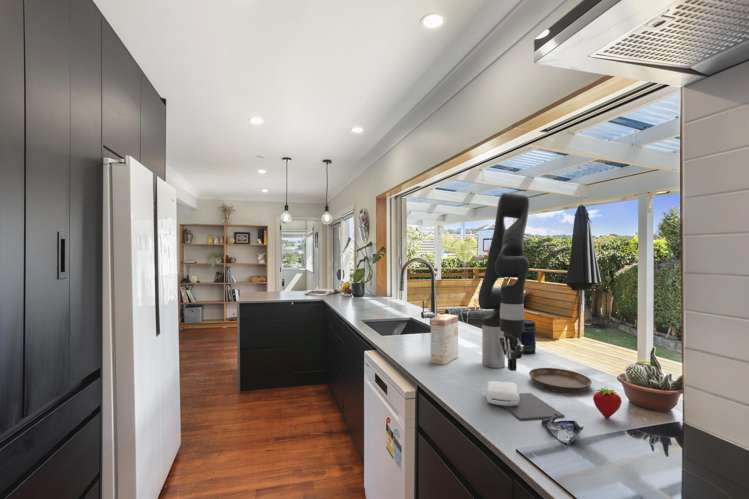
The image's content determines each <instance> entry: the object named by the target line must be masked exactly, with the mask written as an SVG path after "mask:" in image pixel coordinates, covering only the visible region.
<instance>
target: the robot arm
mask: <svg viewBox="0 0 749 499" xmlns="http://www.w3.org/2000/svg"><path fill="white" fill-rule="evenodd" d="M496 208H497V209H496V215H495V223H494V230H493V234H492V237H491V238H492V239H491V241H490V246H489V250H488V256H487V261H486V267H485V271H484V275H483V279H482V282H481V284H480V288H479V292H478V300H477V301H478V306H479V308H480V309H483V310H493V311H492V313H490V314H489V315H488V314H487V315H486V316H484V317H483V318H482V321H481V322H482V323H481V324H482V326H481V328H482V330H481V332H482V333H481V334H482V338H481V340H482V343H481V344H482V346H481V348H482V350H481V354H482V355H481V358H482V359H481V361H482V365H483V366H484V367H486V368H493V369H501V368H504V367H505V366H506V363H505V362H506V358H507V369H508V371H511V372H514V371H515V372H516V371H517V360H519V359H522V356H523V355H524V354H523V353H524V351H525V349H526V346H525V345H522V344H521V335H520V334H521V333H523V332H524V320H525V307H524V306H525V305H524V290H525V283H526V279H527V276H528V273H529V271H530V270H529V269H530V262H529V260H528V258H527V257H526V256H524V255H523V254H524V250H525V248H524V247H525V245H524V244H525V233H526V232H525V231H526V226H527V223H528V217H529V211H530V198H529V196H528V195H525V194H522V193H521V194H520V193H513V192H502V193H501V194H500V196H499V198H498V203H497V207H496ZM505 218H511V219H517V220H516V221H515V222H513V223H512V224H511V225H510V226H509V227H506V223H505ZM500 278H517V280H516V281H515V282H513V283H509V284H504V285H502V286H501V287H494V286H495V284H496V282H497V280H498V279H500Z"/></svg>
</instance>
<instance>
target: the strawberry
mask: <svg viewBox="0 0 749 499" xmlns="http://www.w3.org/2000/svg"><path fill="white" fill-rule="evenodd" d="M615 391H616V390H615V389H609V388H605V387H604V388H603V387H600V389H596V392H595V393H594V394H593V397H592V400H593V403H594V406H595V407H596V408H597V409H598V412H600V414H601V415H602V416H603V417H604V418H605V419H609V418H611V417H612V416H613V415H614V414H615V413H616V412H617V411H619V409H620V408H621V405H622V398H621V397H620V395H619V394H618V393H617V392H615Z"/></svg>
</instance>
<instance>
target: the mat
mask: <svg viewBox="0 0 749 499" xmlns="http://www.w3.org/2000/svg"><path fill="white" fill-rule="evenodd" d="M519 397H520V401H519V403H518V406H502V407H504V409H506V410H507V411H508V412H509V413H511V415H513V416H514V417H516V419H518V420H519V421H529V420H530V421H531V420H547V419H551V418H552V416H553V415H554V414H557V415H558V416H556V417H557V419H558V418H559V419H560V418H565V414H564V413H562V412H560V411H558V410H557V409H556V408H555V407H552V405H549V404H548V403H547V402H545V401H543V400H542V399H541V398H540V397H537V396H536V395H534V394H533V393H532V392H523V393H521V392H519Z"/></svg>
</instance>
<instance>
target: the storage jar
mask: <svg viewBox="0 0 749 499" xmlns="http://www.w3.org/2000/svg"><path fill="white" fill-rule="evenodd" d="M536 328H537V327H536V321H534V320H531V319H524V332H523V333H521V334H520V335H521V344H522V345H525V346H526V349H525V351H524V353H523V354H522V355H524V354H525V355H527V356H528V355H529V356H531V355H530V354H533V355H536V349H537V345H536V343H537V342H536V332H537V331H536Z"/></svg>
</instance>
